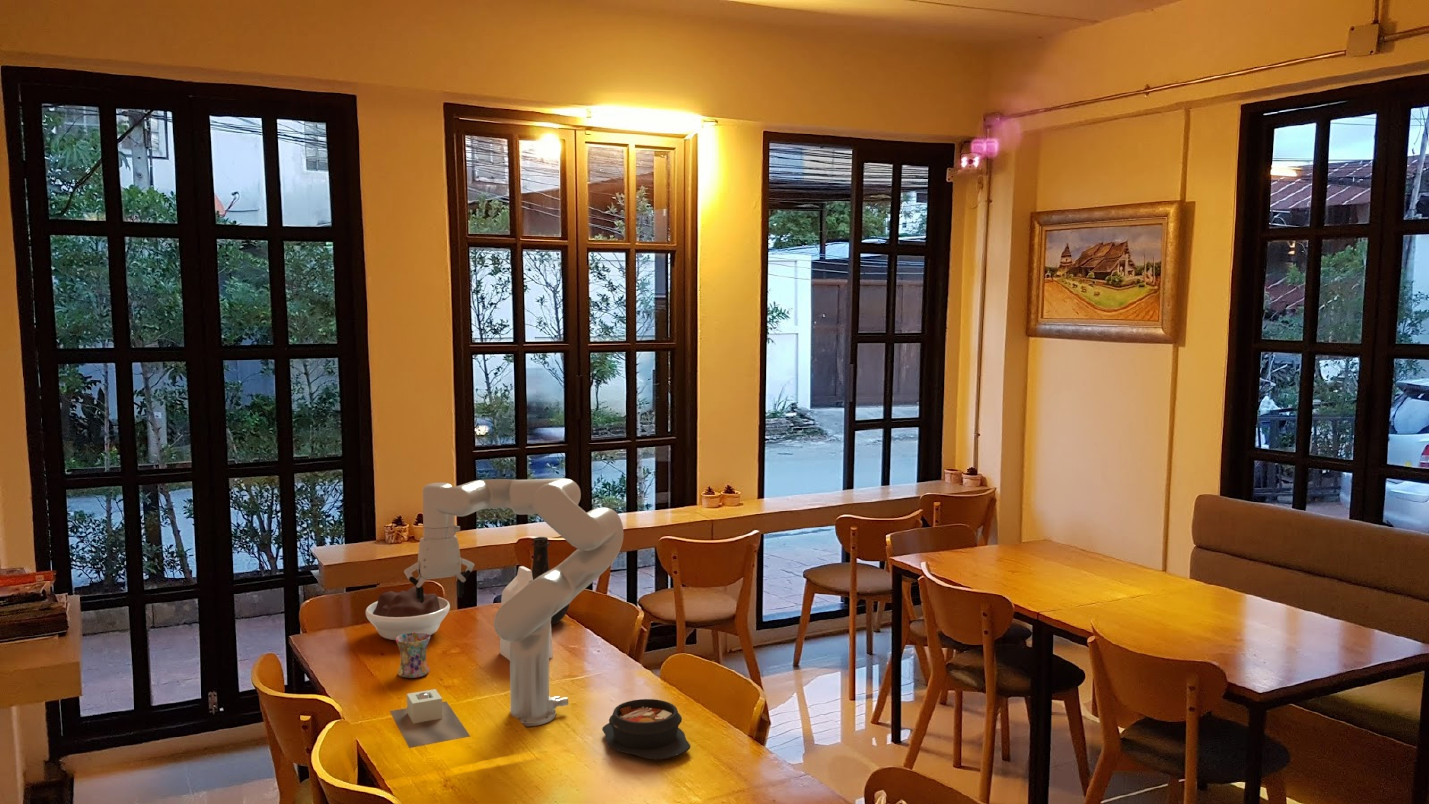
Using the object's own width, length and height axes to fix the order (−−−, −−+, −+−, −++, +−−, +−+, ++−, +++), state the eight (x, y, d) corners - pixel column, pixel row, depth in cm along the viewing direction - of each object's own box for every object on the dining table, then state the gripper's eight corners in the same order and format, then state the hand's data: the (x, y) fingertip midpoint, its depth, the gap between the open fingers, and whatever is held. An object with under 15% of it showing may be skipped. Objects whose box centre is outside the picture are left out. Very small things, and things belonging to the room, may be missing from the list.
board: (446, 707, 262) (446, 701, 262) (470, 742, 241) (470, 736, 241) (389, 717, 256) (389, 711, 256) (409, 753, 235) (409, 747, 234)
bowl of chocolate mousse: (437, 649, 307) (436, 600, 305) (354, 648, 307) (352, 599, 306) (459, 624, 331) (458, 578, 330) (382, 623, 332) (381, 577, 330)
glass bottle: (543, 635, 321) (542, 546, 318) (502, 625, 330) (500, 539, 328) (581, 620, 335) (580, 536, 333) (540, 611, 345) (539, 529, 343)
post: (426, 710, 256) (426, 689, 256) (430, 716, 252) (430, 695, 252) (416, 712, 255) (416, 690, 255) (420, 718, 251) (420, 696, 251)
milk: (553, 657, 300) (552, 570, 298) (516, 665, 294) (515, 575, 291) (535, 646, 310) (534, 561, 308) (499, 653, 303) (498, 567, 301)
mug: (437, 674, 286) (436, 637, 285) (407, 683, 279) (406, 645, 278) (415, 664, 294) (414, 627, 293) (385, 672, 287) (384, 635, 286)
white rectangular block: (442, 718, 251) (442, 698, 251) (413, 723, 248) (412, 703, 248) (436, 708, 257) (435, 689, 257) (407, 713, 254) (406, 693, 254)
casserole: (583, 737, 244) (583, 703, 244) (649, 718, 256) (649, 686, 255) (641, 775, 225) (641, 738, 224) (709, 753, 236) (709, 718, 235)
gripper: (469, 526, 265) (470, 591, 267) (400, 532, 257) (402, 599, 259) (477, 532, 258) (478, 598, 260) (406, 538, 250) (408, 607, 252)
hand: (440, 599), depth 259 cm, fingers open, 9 cm apart
